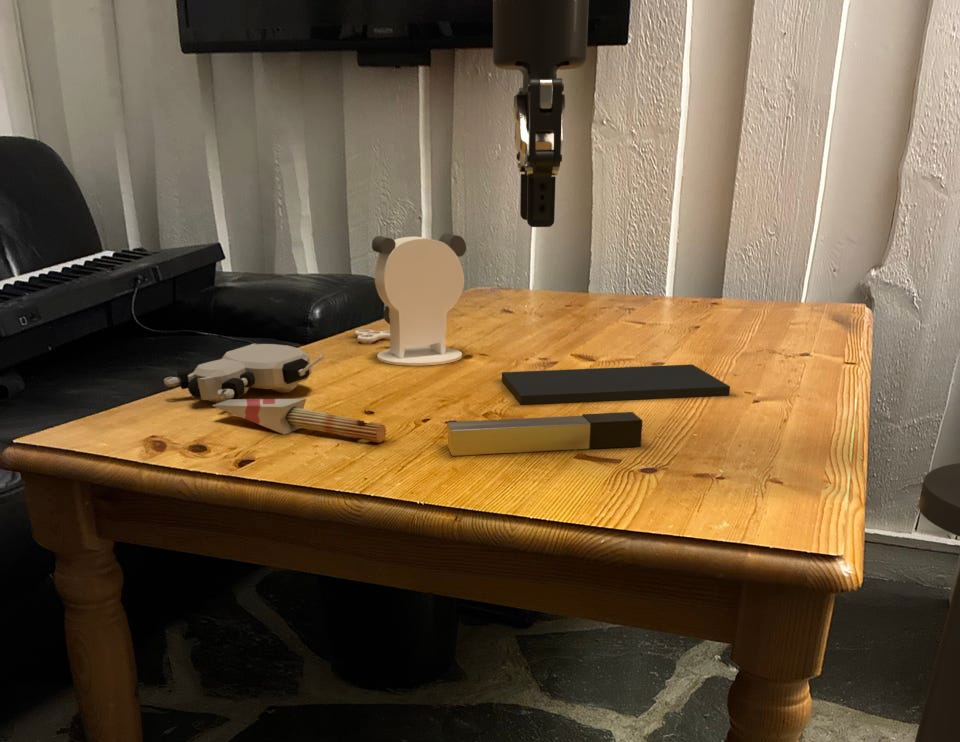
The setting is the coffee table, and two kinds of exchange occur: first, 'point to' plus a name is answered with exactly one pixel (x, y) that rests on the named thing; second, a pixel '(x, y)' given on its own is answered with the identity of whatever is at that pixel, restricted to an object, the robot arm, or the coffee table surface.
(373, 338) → the fidget spinner
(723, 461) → the coffee table surface
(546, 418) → the black-tipped grey bar
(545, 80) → the robot arm
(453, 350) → the panda figurine
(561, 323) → the coffee table surface
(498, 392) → the coffee table surface
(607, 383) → the mat
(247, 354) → the robot toy
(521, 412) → the coffee table surface
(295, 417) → the paintbrush
